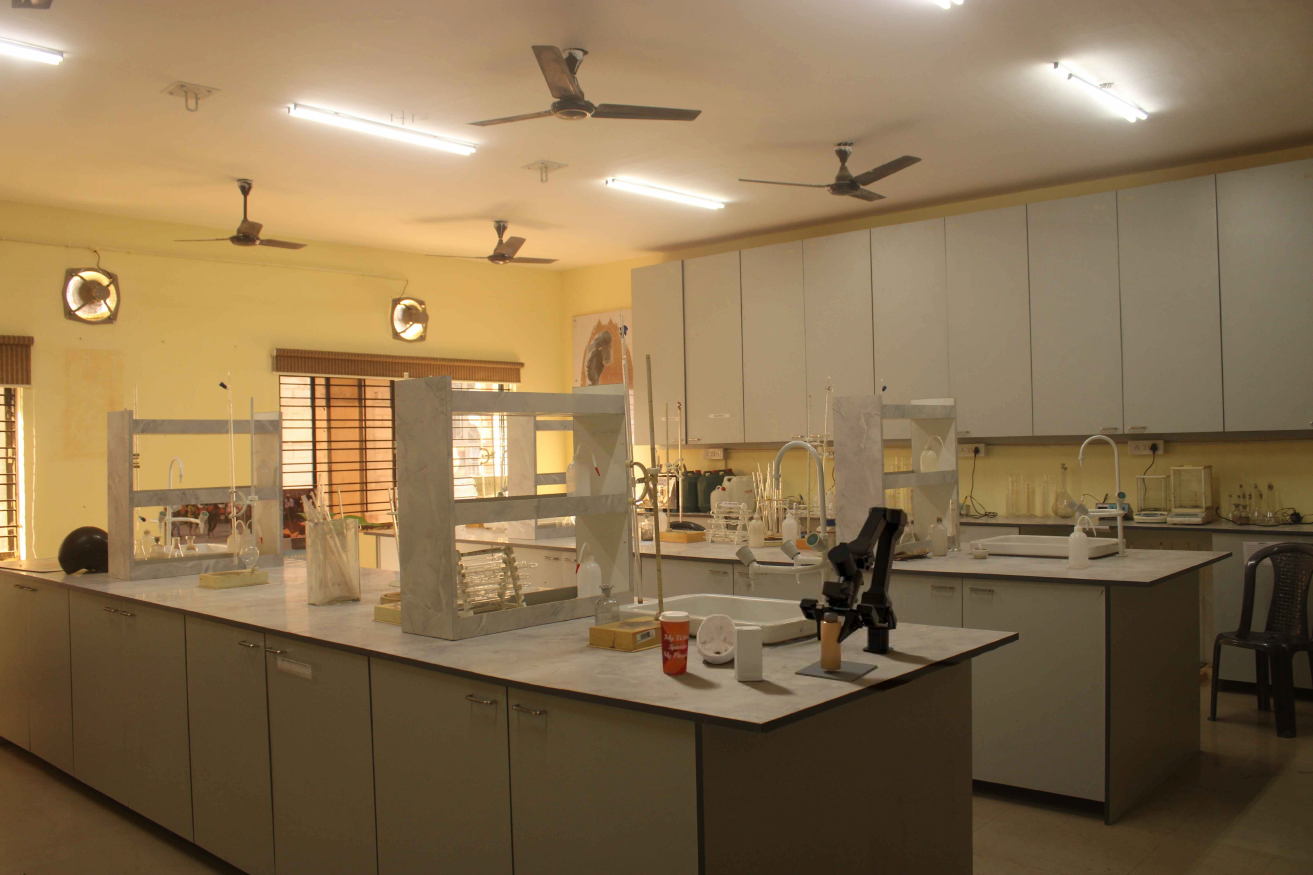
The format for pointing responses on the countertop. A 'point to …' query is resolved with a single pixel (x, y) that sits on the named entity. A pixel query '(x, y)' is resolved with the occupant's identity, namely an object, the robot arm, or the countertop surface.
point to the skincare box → (748, 653)
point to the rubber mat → (838, 671)
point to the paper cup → (674, 641)
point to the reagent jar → (830, 642)
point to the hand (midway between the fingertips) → (828, 641)
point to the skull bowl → (716, 639)
